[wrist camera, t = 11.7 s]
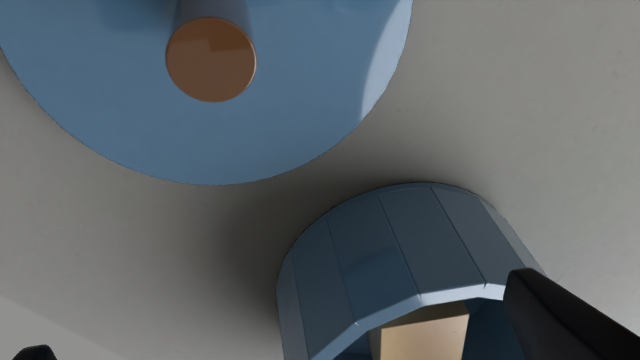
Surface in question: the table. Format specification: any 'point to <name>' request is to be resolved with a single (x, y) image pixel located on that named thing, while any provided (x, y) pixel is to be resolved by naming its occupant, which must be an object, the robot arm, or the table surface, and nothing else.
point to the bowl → (399, 271)
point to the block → (422, 334)
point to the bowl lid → (206, 78)
